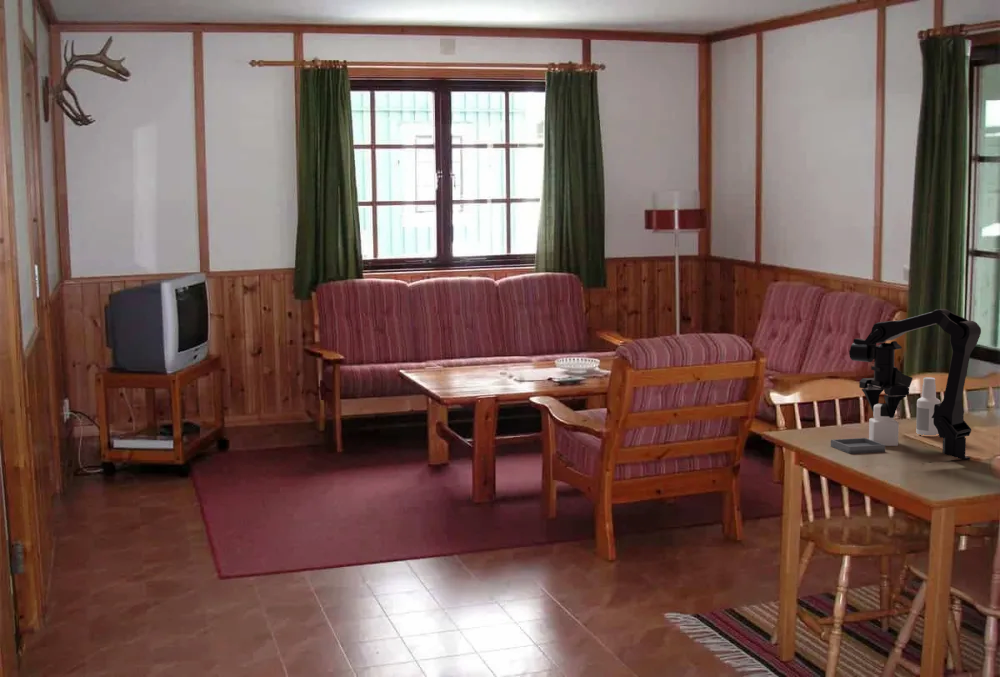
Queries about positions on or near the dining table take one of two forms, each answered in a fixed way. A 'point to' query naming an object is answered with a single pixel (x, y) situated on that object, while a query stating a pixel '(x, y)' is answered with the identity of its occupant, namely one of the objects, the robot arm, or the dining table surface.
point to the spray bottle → (927, 408)
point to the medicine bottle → (883, 426)
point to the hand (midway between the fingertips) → (883, 415)
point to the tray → (857, 445)
